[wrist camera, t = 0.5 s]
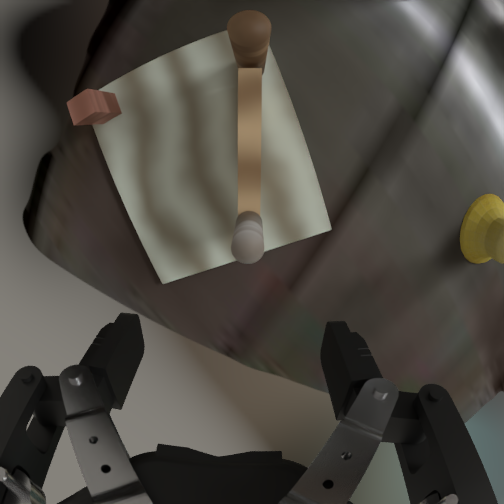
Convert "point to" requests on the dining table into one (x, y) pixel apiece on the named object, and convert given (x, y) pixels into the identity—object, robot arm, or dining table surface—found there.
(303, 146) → the towel on rod
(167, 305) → the dining table surface
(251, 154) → the wooden panel
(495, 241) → the handbell
